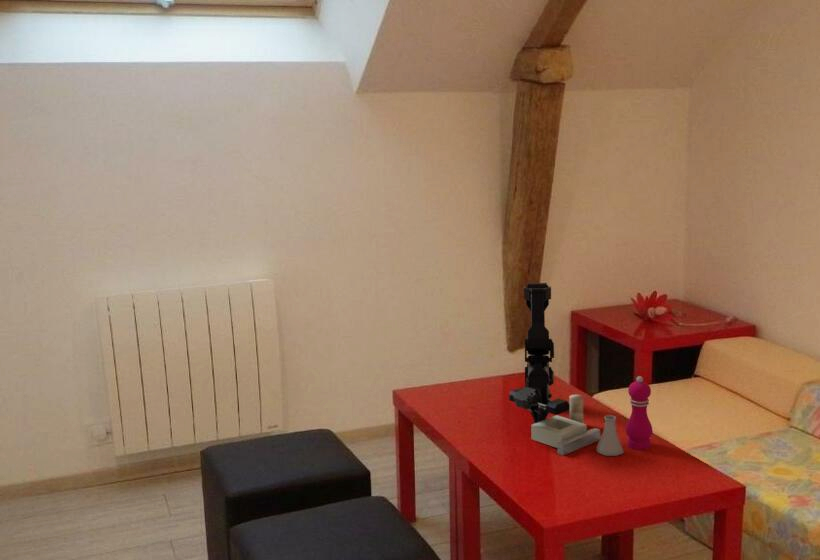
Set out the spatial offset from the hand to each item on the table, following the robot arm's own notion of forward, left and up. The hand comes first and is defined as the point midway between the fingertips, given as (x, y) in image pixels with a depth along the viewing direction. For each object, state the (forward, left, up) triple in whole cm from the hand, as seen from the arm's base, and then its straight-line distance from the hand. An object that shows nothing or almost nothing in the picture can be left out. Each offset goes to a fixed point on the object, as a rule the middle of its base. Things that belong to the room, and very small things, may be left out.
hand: (538, 428), depth 258 cm
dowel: (+4, +12, -1) cm, 13 cm away
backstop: (+15, 0, -1) cm, 15 cm away
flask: (+23, +3, -2) cm, 23 cm away
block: (+7, 0, -1) cm, 8 cm away
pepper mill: (+26, +12, -2) cm, 29 cm away
